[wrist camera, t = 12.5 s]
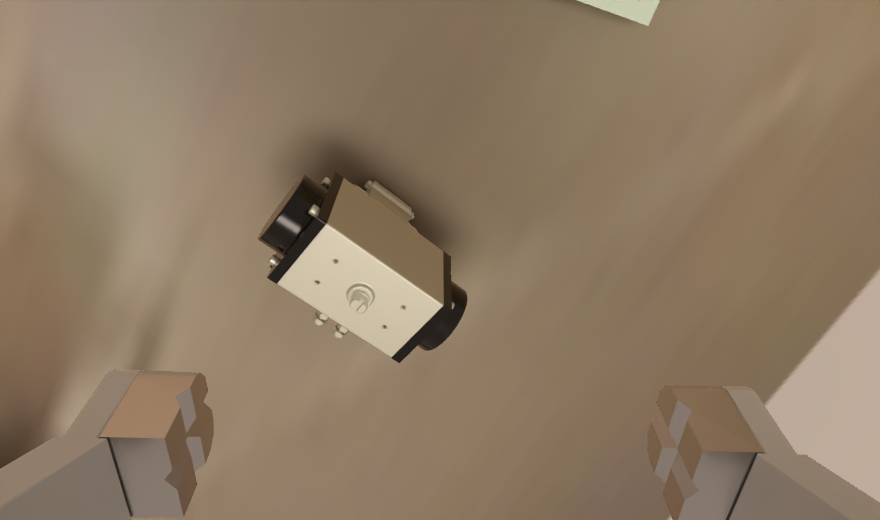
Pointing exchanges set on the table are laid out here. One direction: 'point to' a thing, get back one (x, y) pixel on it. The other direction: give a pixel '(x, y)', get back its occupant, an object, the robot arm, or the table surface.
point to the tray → (628, 8)
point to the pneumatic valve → (363, 265)
